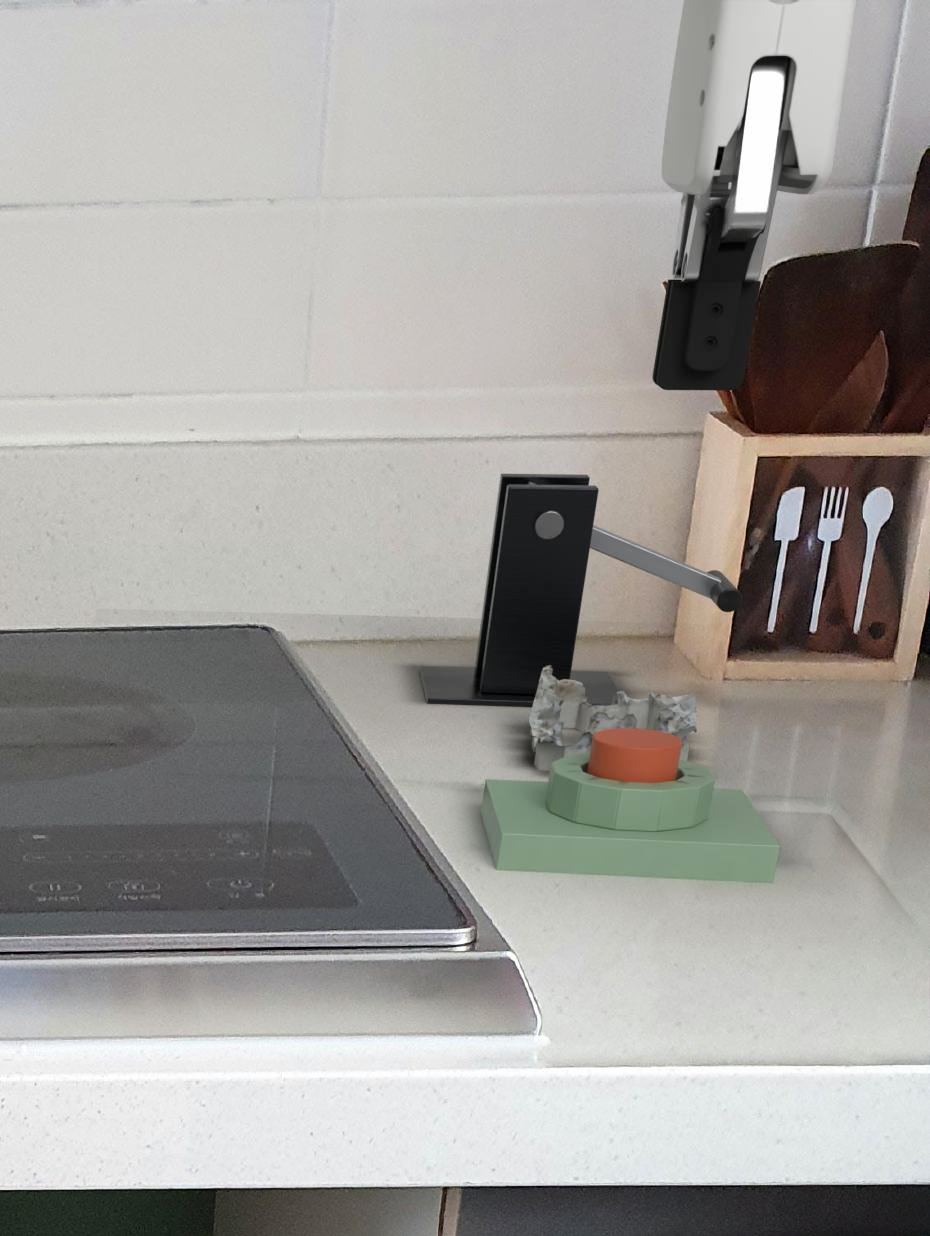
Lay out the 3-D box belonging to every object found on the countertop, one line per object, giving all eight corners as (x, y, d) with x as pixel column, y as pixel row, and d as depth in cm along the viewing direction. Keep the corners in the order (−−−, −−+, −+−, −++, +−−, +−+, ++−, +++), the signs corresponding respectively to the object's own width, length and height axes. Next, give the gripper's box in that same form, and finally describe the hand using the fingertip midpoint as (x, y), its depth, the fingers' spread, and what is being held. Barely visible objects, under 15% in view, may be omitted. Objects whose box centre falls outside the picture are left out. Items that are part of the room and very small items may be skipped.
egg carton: (527, 742, 117) (539, 661, 115) (684, 752, 114) (698, 670, 113) (516, 793, 108) (529, 706, 106) (686, 805, 105) (702, 717, 104)
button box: (735, 826, 102) (749, 749, 101) (772, 885, 94) (789, 803, 93) (480, 815, 105) (490, 740, 103) (496, 872, 97) (507, 791, 95)
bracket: (604, 693, 126) (640, 471, 121) (623, 727, 119) (661, 493, 114) (417, 687, 128) (444, 468, 123) (425, 720, 121) (453, 490, 116)
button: (668, 769, 99) (675, 729, 99) (681, 790, 96) (688, 749, 95) (582, 765, 100) (588, 726, 99) (591, 787, 97) (598, 746, 96)
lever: (710, 606, 122) (735, 564, 120) (727, 627, 117) (753, 583, 116) (503, 519, 122) (525, 476, 121) (511, 536, 117) (535, 491, 116)
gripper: (948, -171, 76) (836, 410, 84) (851, -129, 89) (762, 370, 97) (708, -161, 77) (621, 408, 85) (647, -121, 90) (576, 369, 98)
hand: (696, 386), depth 91 cm, fingers closed
